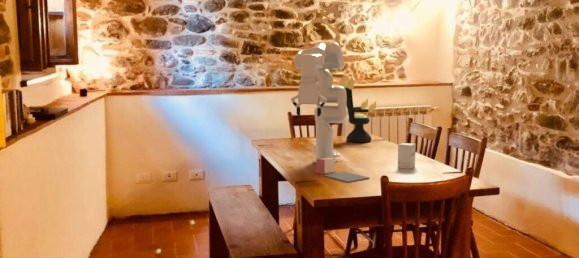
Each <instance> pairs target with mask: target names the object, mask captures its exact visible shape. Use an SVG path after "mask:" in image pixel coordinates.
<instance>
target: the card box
mask: <svg viewBox="0 0 579 258" xmlns="http://www.w3.org/2000/svg"><path fill="white" fill-rule="evenodd" d="M334 159H335V158H329V157H327V158H321V159H317V162H316V163H315V165H316V173H317V174H321V175H326V174H332V173H335V163H334Z"/></svg>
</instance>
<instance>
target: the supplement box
mask: <svg viewBox="0 0 579 258" xmlns="http://www.w3.org/2000/svg"><path fill="white" fill-rule="evenodd" d="M397 145H398V146H397V149H398V150H397V168H398V169H406V170H407V169H408V170H411V169H412V168H415V167H416V147H417V146H416V143H412V142H411V143H410V142H409V143H408V142H402V143H399V144H397Z"/></svg>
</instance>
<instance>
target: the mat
mask: <svg viewBox="0 0 579 258" xmlns="http://www.w3.org/2000/svg"><path fill="white" fill-rule="evenodd" d="M323 177H325V178H329V179H333V180H337V181H341V182H343V183H348V184H349V183H355V182H360V181H364V180H369V179H370V177H369V176H364V175H361V174H357V173H356V174H355V173H352V172H348V171H341V172H340V171H339V172H332V173H326V174H323ZM359 180H360V181H359ZM354 181H355V182H354Z"/></svg>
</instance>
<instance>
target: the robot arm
mask: <svg viewBox="0 0 579 258" xmlns="http://www.w3.org/2000/svg"><path fill="white" fill-rule="evenodd" d="M343 54H344V53H343V50H342V48H341V46H340V44H339V43H338V42H334V41H333V42H328V41H327V42H323V41H322V42H318V43H316V44H314V45H313V47H311V48H306V49H301V50H299V51H298V52H297V53H296V54H295V56H294V61H293V63H294V67H295V68H296V69H297V70H298V69H299V70H300V82H299V86H298V93H297V95H295V96H293V97H291V98H290V101H291V103H292V104H293V106H294V107H295V109H296V115H297V117H301V105H316V106H317V107H315V109H314V112H313V114H314V120H315V158H314V159H313V160H312V162H313V163H314V164H316V162H317V159H321V158H327V157H329V158H334V164H335V163H337V160H336V159H335V158H340V157H341V155H340V153H334V130H333V128H332V126H331V125H330V124H344V123H345V122H346V119H347V105H346V102H347V95H346V89H345V88H344V87H343V86H341V85H334V76H333V73H332V72H331V70H334V71H335V70H341V69H343V67H344V65H345V59H344V55H343ZM296 100H297V102H296ZM325 104H337V105H325Z"/></svg>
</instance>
